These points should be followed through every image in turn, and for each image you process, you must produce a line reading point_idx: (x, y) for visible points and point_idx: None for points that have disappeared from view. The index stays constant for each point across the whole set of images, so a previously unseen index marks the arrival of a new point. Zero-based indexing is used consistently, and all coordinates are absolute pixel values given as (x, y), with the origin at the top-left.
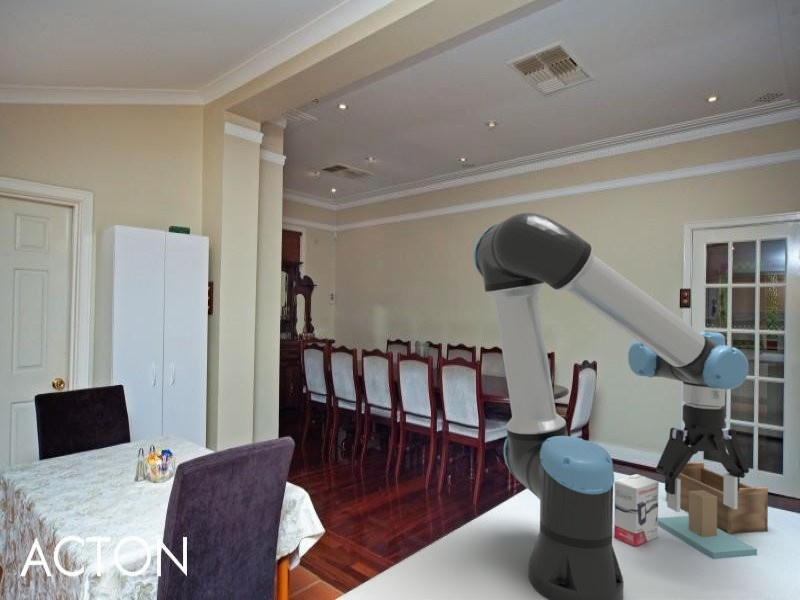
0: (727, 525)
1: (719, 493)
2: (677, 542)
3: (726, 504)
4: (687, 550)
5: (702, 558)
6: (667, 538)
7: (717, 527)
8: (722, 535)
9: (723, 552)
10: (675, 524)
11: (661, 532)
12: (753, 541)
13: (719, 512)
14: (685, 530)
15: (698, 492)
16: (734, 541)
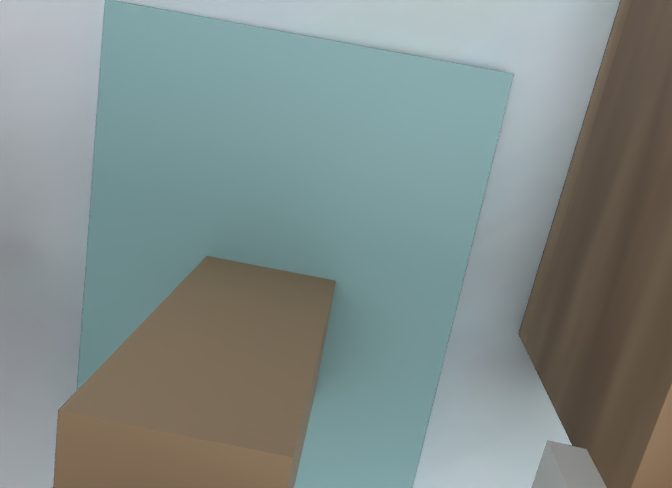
0: (532, 358)
1: (650, 407)
2: (41, 295)
3: (538, 481)
4: (18, 386)
5: (28, 475)
6: (18, 231)
7: (547, 248)
8: (362, 407)
9: None
10: (178, 157)
11: (48, 147)
12: None
13: (578, 312)
14: (164, 260)
15: (151, 482)
16: (352, 486)
